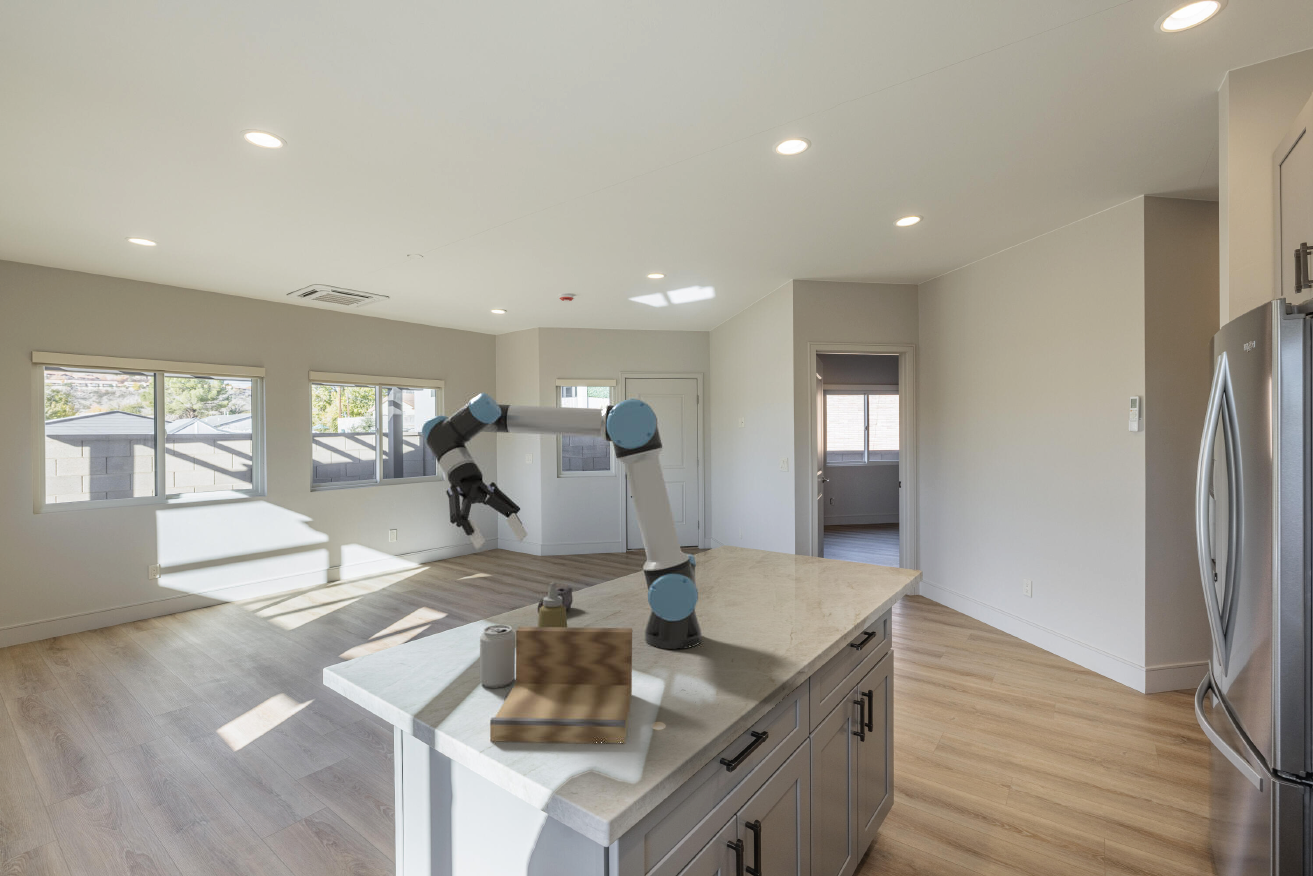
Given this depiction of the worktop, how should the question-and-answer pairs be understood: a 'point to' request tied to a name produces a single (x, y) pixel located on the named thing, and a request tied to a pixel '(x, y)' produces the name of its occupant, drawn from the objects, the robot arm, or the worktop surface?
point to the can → (497, 656)
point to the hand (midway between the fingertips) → (503, 541)
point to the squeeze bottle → (552, 610)
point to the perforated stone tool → (566, 597)
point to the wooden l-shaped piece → (568, 687)
